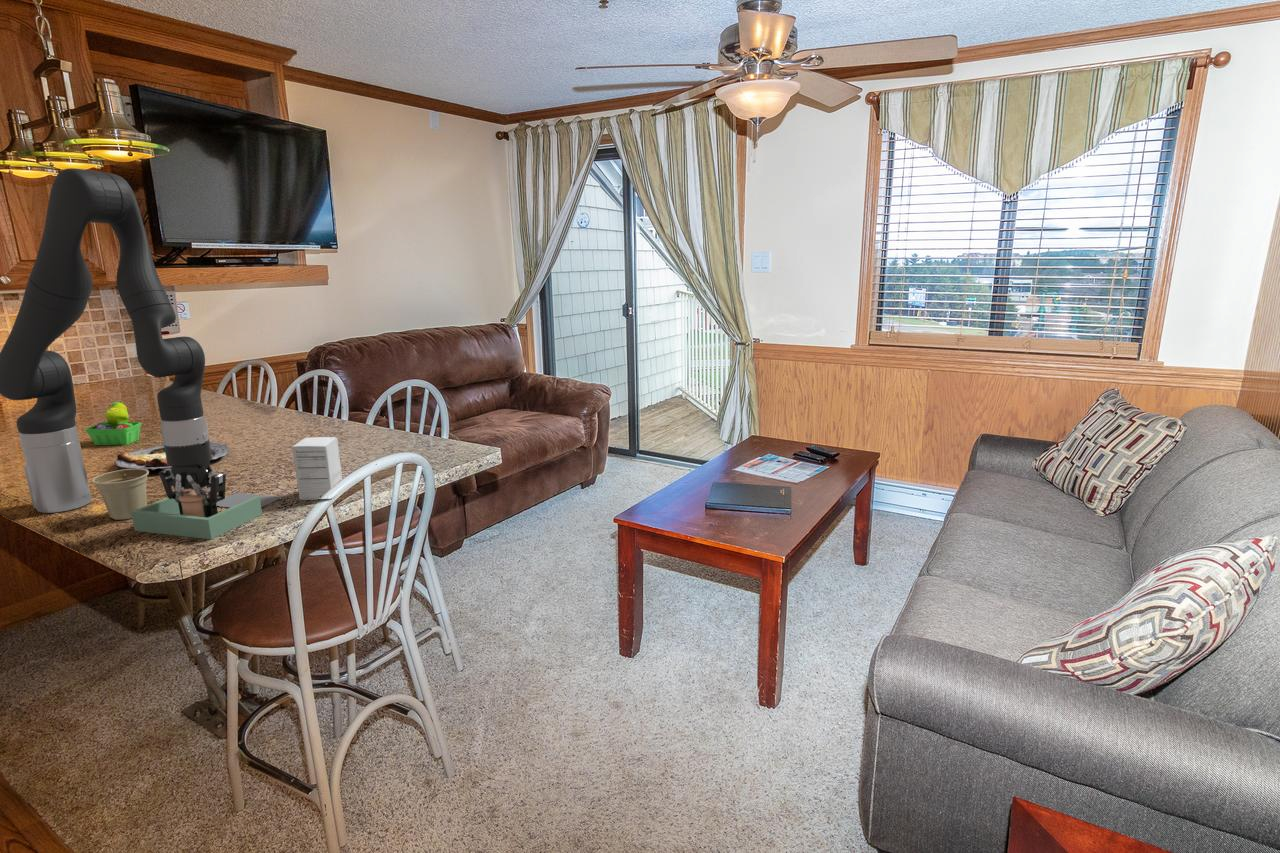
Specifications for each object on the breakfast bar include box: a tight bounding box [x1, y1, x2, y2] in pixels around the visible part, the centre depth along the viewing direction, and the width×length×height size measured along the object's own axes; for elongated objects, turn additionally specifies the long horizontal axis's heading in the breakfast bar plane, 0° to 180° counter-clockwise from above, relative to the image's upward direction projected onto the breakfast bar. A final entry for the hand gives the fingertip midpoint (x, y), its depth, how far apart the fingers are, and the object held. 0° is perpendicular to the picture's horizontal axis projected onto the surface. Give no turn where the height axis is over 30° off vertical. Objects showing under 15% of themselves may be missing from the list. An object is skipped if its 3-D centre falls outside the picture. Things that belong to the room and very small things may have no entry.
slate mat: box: [216, 492, 283, 509], centre depth 149 cm, size 12×8×1 cm, turn 77°
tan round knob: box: [179, 490, 210, 517], centre depth 137 cm, size 6×6×6 cm
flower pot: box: [91, 468, 150, 521], centre depth 140 cm, size 9×9×9 cm
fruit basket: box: [84, 401, 142, 446], centre depth 193 cm, size 11×9×11 cm
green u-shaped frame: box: [131, 496, 263, 540], centre depth 137 cm, size 18×13×4 cm
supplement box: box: [292, 436, 343, 501], centre depth 152 cm, size 7×7×13 cm
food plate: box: [113, 441, 231, 472], centre depth 177 cm, size 25×23×4 cm
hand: (200, 519), depth 137 cm, fingers closed on tan round knob, 5 cm apart
